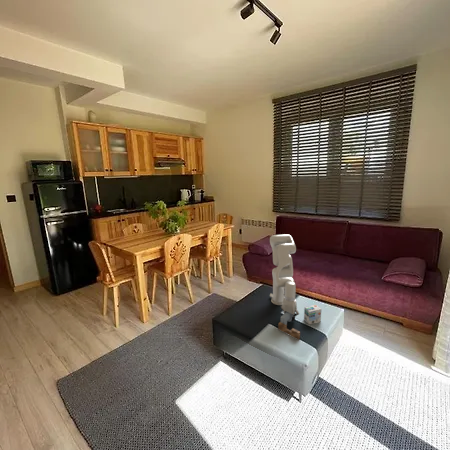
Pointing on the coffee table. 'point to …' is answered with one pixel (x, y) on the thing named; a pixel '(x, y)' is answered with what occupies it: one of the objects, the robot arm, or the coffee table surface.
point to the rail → (291, 332)
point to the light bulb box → (312, 314)
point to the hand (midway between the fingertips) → (289, 318)
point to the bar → (286, 318)
